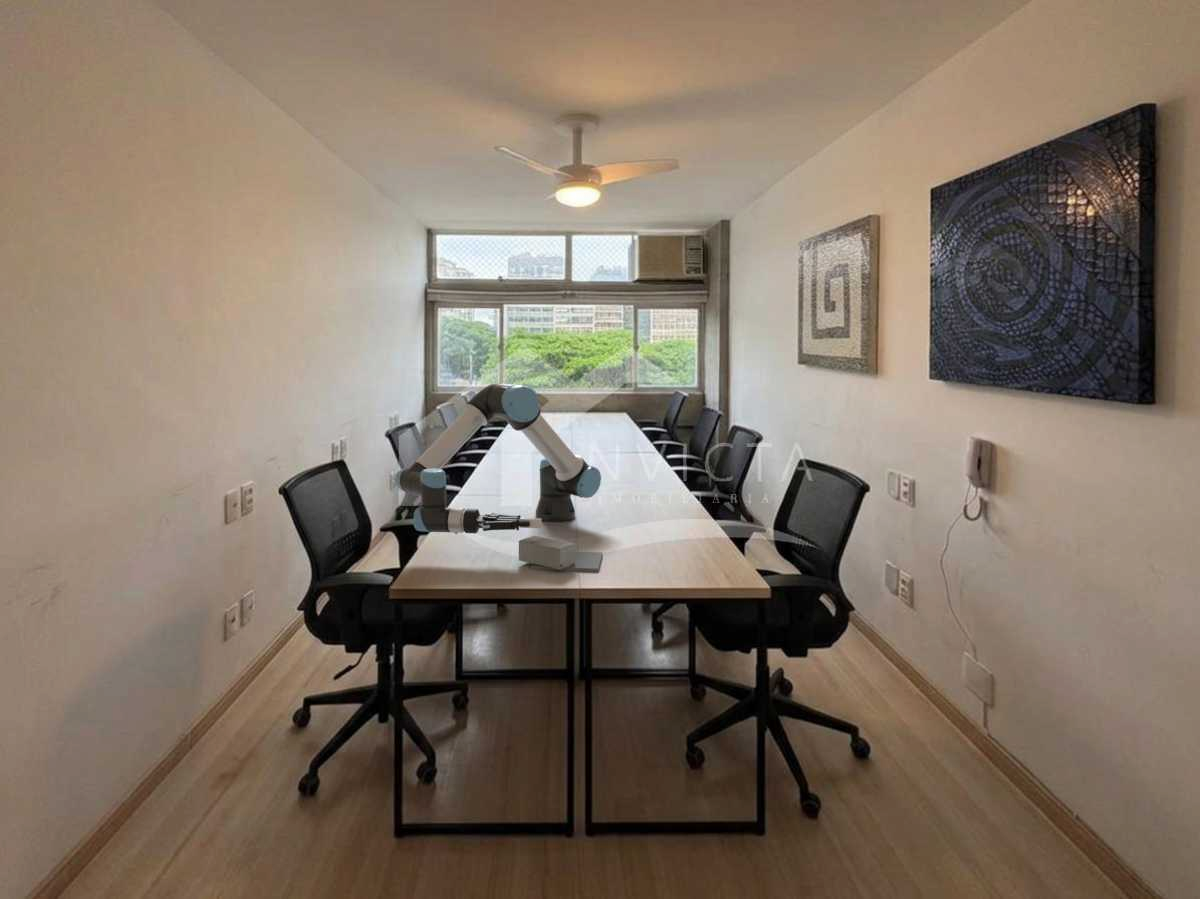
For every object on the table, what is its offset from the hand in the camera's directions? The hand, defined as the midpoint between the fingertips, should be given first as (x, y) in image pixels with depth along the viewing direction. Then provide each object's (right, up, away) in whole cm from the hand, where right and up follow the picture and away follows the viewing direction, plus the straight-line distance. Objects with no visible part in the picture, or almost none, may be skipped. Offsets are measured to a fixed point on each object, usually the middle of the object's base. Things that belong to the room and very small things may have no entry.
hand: (540, 523), depth 219 cm
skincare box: (-5, -8, +1) cm, 9 cm away
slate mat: (+8, -12, +1) cm, 15 cm away
